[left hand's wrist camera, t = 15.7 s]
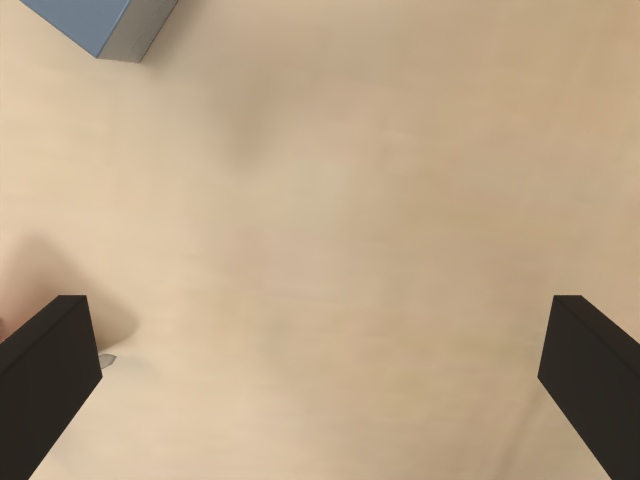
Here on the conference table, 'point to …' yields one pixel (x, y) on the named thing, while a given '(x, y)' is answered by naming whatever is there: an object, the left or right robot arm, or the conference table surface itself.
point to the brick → (107, 24)
